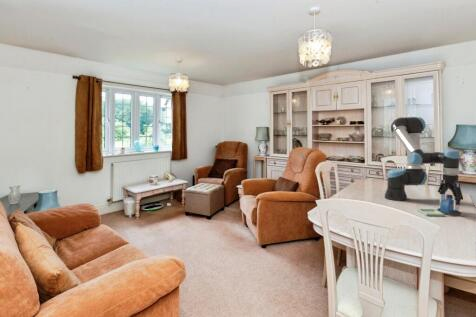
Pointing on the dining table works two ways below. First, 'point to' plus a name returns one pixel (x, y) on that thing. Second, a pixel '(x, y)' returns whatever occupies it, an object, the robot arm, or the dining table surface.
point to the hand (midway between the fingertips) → (449, 206)
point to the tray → (430, 212)
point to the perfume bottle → (448, 205)
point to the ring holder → (450, 213)
